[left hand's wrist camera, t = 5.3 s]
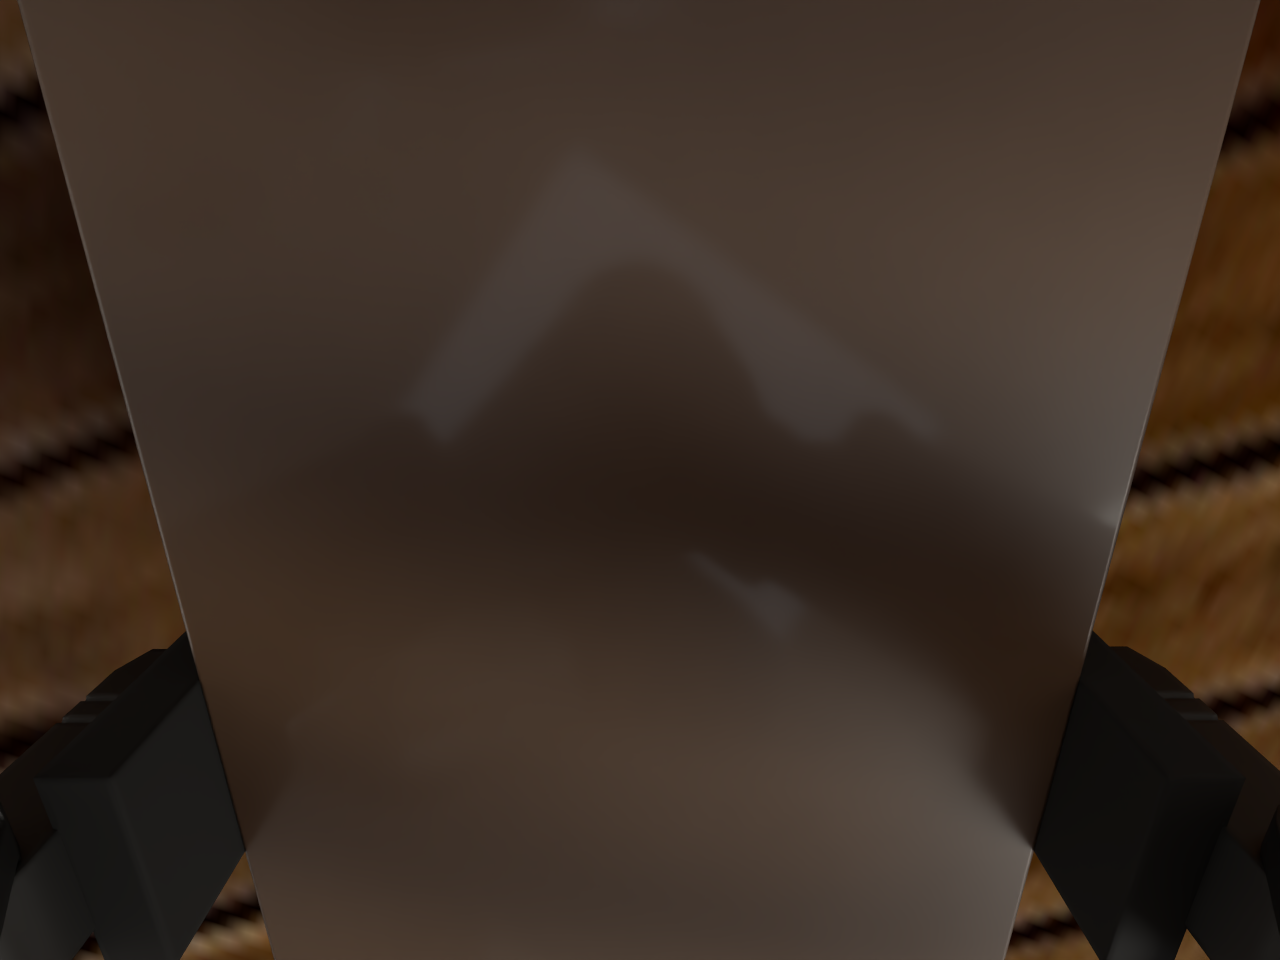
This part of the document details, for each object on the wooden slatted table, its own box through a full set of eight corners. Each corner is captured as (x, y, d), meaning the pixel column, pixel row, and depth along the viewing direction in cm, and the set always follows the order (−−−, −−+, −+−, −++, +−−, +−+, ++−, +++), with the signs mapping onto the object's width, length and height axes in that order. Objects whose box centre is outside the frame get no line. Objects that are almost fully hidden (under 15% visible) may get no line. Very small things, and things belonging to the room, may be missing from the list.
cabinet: (390, -119, 15) (-232, -912, 4) (887, -119, 15) (1509, -909, 4) (464, 607, 21) (288, 1022, 11) (813, 607, 21) (991, 1021, 11)
